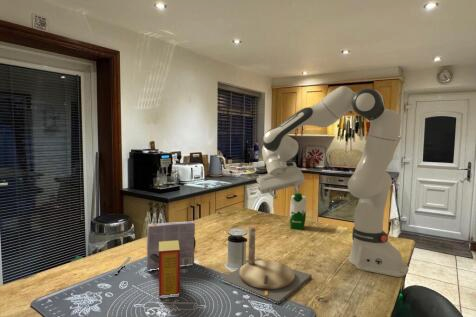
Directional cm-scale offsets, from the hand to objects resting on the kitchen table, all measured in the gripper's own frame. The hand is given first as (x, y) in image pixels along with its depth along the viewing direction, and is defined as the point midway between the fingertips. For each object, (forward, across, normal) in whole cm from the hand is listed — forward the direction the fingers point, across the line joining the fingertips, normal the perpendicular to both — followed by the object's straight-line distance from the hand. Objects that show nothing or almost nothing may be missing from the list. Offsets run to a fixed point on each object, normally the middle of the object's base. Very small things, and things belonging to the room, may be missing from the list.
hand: (286, 195), depth 134 cm
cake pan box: (+18, -52, +1) cm, 55 cm away
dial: (+31, -16, 0) cm, 35 cm away
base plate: (+32, -17, +1) cm, 36 cm away
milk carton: (-9, +6, +51) cm, 52 cm away
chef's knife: (+14, -70, -1) cm, 72 cm away
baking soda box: (+32, -50, -12) cm, 60 cm away
